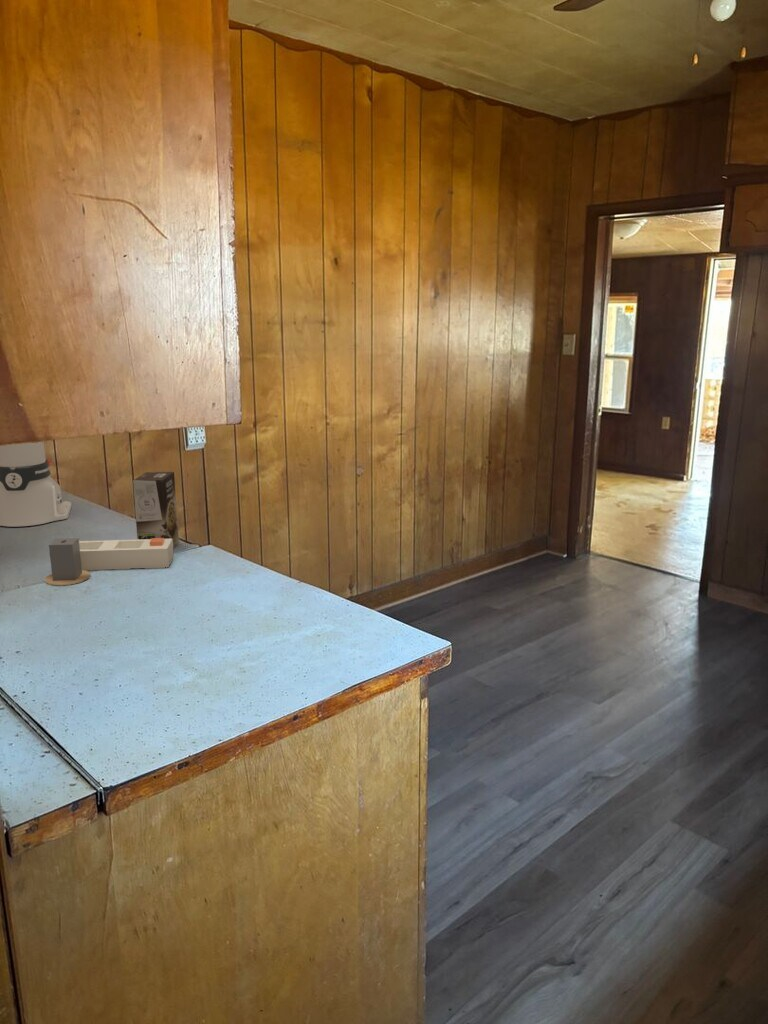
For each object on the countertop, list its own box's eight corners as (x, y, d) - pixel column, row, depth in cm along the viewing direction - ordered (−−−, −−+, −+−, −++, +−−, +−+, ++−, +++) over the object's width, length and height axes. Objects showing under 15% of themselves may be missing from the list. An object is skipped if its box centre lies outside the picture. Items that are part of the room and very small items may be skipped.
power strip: (53, 571, 147) (50, 548, 146) (64, 560, 154) (61, 537, 153) (168, 567, 150) (166, 544, 149) (173, 556, 157) (172, 534, 155)
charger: (59, 573, 145) (55, 538, 143) (82, 572, 146) (78, 537, 144) (52, 580, 141) (48, 544, 139) (75, 579, 142) (72, 543, 140)
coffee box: (167, 555, 158) (162, 480, 154) (137, 554, 158) (131, 479, 154) (180, 542, 167) (175, 471, 163) (151, 542, 167) (145, 470, 163)
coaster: (52, 572, 147) (52, 570, 147) (95, 570, 148) (94, 569, 148) (39, 586, 139) (39, 584, 139) (84, 585, 140) (84, 582, 140)
